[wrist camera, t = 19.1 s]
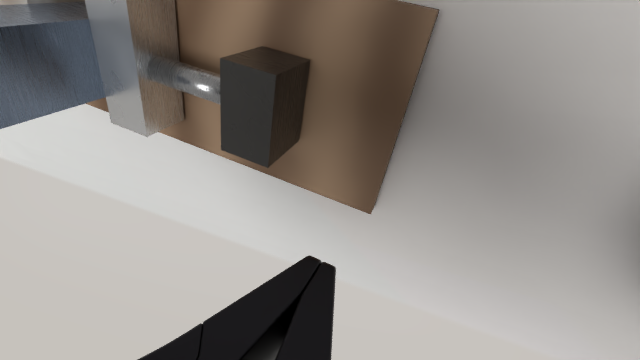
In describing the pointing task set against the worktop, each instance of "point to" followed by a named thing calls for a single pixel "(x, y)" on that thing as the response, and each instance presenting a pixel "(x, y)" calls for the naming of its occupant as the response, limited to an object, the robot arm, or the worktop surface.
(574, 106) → the worktop surface
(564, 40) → the worktop surface
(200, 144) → the base
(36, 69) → the steel block
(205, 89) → the block
